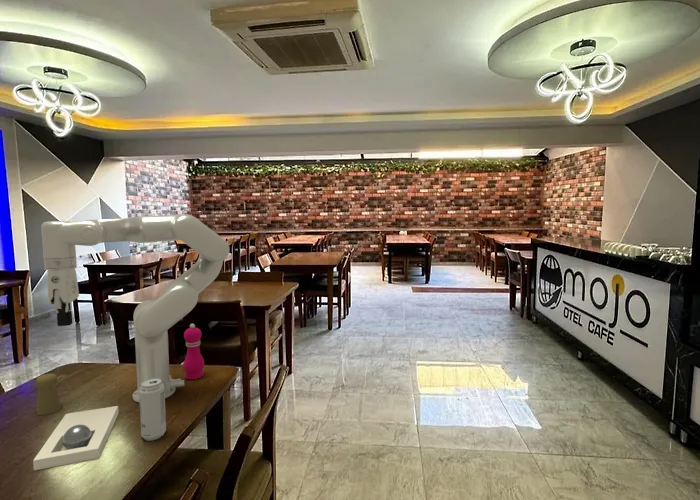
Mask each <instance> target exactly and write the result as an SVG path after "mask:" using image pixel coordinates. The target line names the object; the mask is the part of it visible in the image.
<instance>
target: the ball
mask: <svg viewBox="0 0 700 500" xmlns="http://www.w3.org/2000/svg"><path fill="white" fill-rule="evenodd" d="M90 439H91V430H90V428H89V427H87V426H86V425H75V426H73V427H71V428H69V429H68V430H67V431H66V433H65V434H64V436H63V440H62V442H63V445H62V446H63V447H64V449H66V450H69V449H75V448H80V447H86V446H88V444H89V442H90Z"/></svg>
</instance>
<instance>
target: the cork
mask: <svg viewBox="0 0 700 500" xmlns="http://www.w3.org/2000/svg"><path fill="white" fill-rule="evenodd" d="M57 383H58V376H57V375H56V374H54V373H46V374H42V375H40V376H38V377H37V378H36V380H35V387H36V388H38V389H37V400H36V410H35V411H36V412H35V414H36V415H37V414H38V416H47V415H49V414H50V415H51V414H53V413H56V412H58V411H59V410H60V409H61V408H62V405H61V400H60V397H59V393H58V388H57V385H56V384H57Z"/></svg>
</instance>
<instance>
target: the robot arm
mask: <svg viewBox="0 0 700 500" xmlns="http://www.w3.org/2000/svg"><path fill="white" fill-rule="evenodd" d="M40 230H41V240H42V241H41V243H42V252H43V253H42V254H43V267H44V269H43V270H44V271H47V298H48V303H49V304H50V305H54V307H53V308H54V310H55V313H56V320H57V327H64V326H65V327H66V326H71V325H72V324H73V311H72V310H73V309H72V308H73V307H72V305H73V304H72V303H73V302H74V301H75V300H77V299H78V298H79V297H80V291H79V290H80V289H79V283H78V277H77V276H78V275H77V272H76V271H77V270H76V269H77V268H78V264H77V252H76V251H77V250H76V248H77V247H76V246H85V247H94V246H96V245H98V244H102V243H103V244H105V243H118V242H120V243H121V242H131V243H132V242H133V243H139V244H140V243H141V244H142V243H143V244H149V243H157V242H158V243H160V242H172V241H181V242H183V243H184V244H185V245H187V246H188V247H190V248H191V249H192V250H193V251H195V252H196V253H198V254H199V255H198V259H197V261H196V262H195V263H194V264H192V266H191V267H189V269H187V270H186V271H185V272H183V273H181V275H179V276H178V277H177V278H175V279H173V280H172V281H171V282H169V283H168V284H167V285H166V286H165V288H164V290H163V294H162V295H160V296H159V297H158V298H157V299H147V300H143V301H142V302H140V303H139V304H137V306H136V307H135V309H134V311H133V318H132V319H133V327H134V328H133V330H134V344H135V365H136V367H135V368H136V379H137V380H136V382H137V389H136V390H135V391H134V392H133V393H132V399H133V401H134V402H137V403H140V402H139V389H140V387H141V383H142V382H144V381H146V380H148V379H154V378H158V379H161V382H162V383H163V385H164V393H165V399H167V398H169V397H171V396H172V395H174V393H175V392H176V388H177V387H178V388H180V387H185V380H183V379H182V378H175V379H174V378H172V375H170V361H169V360H170V357H169V356H170V355H169V334H168V330H169V329H170V328H172V327H173V326H174V325H175V324H177V323H178V322H179V321H181V320H182V319H183V318H184V317H186V316H187V315H188V314H189V313H190V312H191V311H192V310H193V309H194V308H195V307H196V305H197V304H198V301H199V294H200V293H201V292H203V291H204V290H205V289H206V288H207V287H208V286H209V285H211V284H212V283H213V282H214V281H215V279H217V278H218V277H219V274H220V272H221V270H222V267H223V263H224V261H225V260H226V259H228V257H229V255H230V245H229V243H228V242H227V240H225V238H223V237H222V236H220V235H219V234H218V233H216V231H214V230H212V229H211V228H210V227H208V225H206V224H204V223H203V222H202V221H201V220H200V219H198V218H197V217H195V216H193V215H191V214H167V215H166V214H165V215H164V214H163V215H141V216H133V217H127V218H126V217H125V218H124V217H123V218H113V219H112V218H108V219H107V218H106V219H103V218H102V219H88V220H87V219H86V220H81V221H73V222H72V221H67V220H66V221H65V220H53V221H45V222H43V223H42V224H41V228H40Z"/></svg>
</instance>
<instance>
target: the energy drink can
mask: <svg viewBox="0 0 700 500" xmlns="http://www.w3.org/2000/svg"><path fill="white" fill-rule="evenodd" d="M138 403H139V415H140V417H139V418H140V419H139V420H140V433H141V434H140V436H141V438H143V439H144V440H145V441H147V442H148V441H149V442H151V441H156V440H158V439H161V438H162V437H163V436H164V435H165V433H166V431H167V418H166V398H165V393H164V385H163V383H162V382H161V379H158V378H154V379H148V380H146V381H144V382H142V383H141V387H140V389H139V402H138ZM161 436H162V437H161Z"/></svg>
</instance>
